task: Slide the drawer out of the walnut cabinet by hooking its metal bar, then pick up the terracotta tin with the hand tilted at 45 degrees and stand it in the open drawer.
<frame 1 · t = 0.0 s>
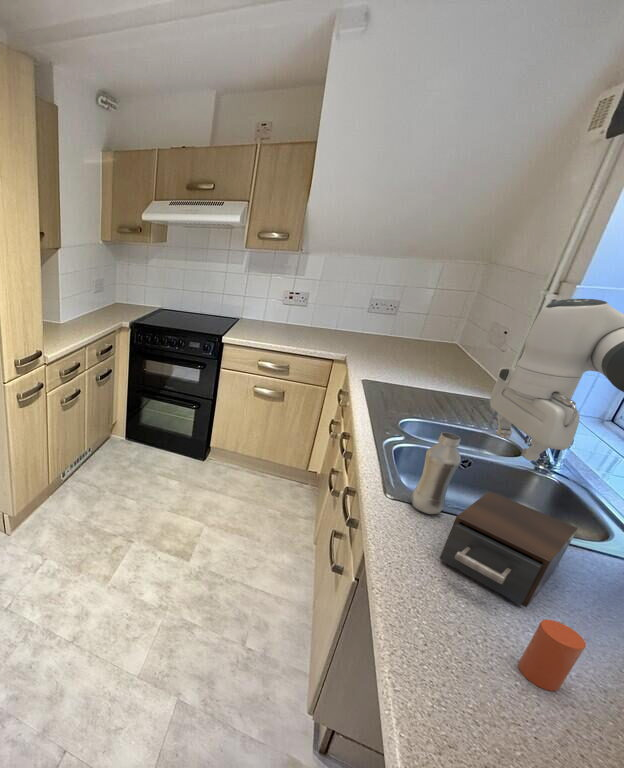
hand: (514, 447, 84), 22 cm above the counter, tool pointing down, fingers open, 8 cm apart
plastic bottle: (424, 509, 100), on the counter
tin: (538, 675, 63), on the counter
cabinet: (496, 564, 84), on the counter
drawer: (497, 552, 79), point 5 cm above the counter, slide at 0.5 cm
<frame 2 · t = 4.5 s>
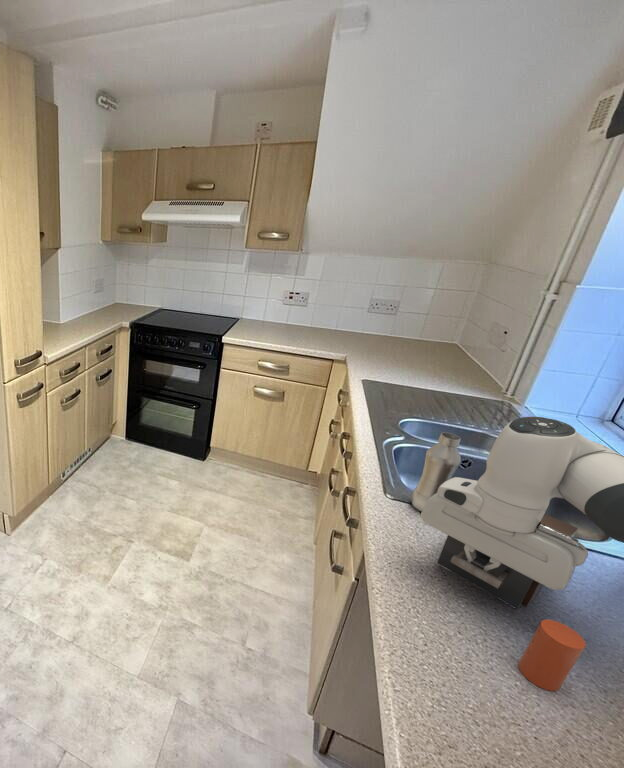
hand: (476, 569, 75), 6 cm above the counter, tool pointing down, fingers closed
drawer: (493, 555, 79), point 5 cm above the counter, slide at 2.2 cm, touching gripper
everything else where it was.
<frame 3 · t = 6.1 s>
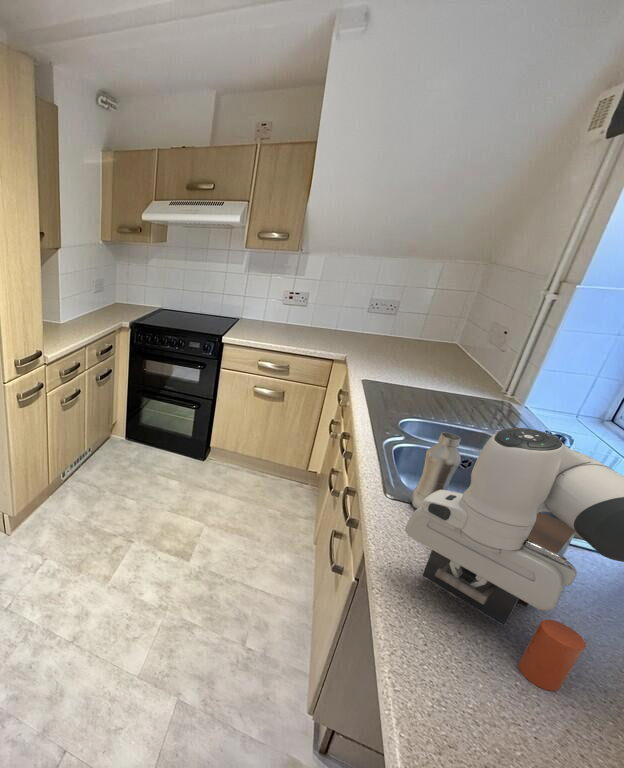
hand: (462, 586, 72), 5 cm above the counter, tool pointing down, fingers closed
drawer: (480, 568, 75), point 5 cm above the counter, slide at 8.5 cm
everything else where it was.
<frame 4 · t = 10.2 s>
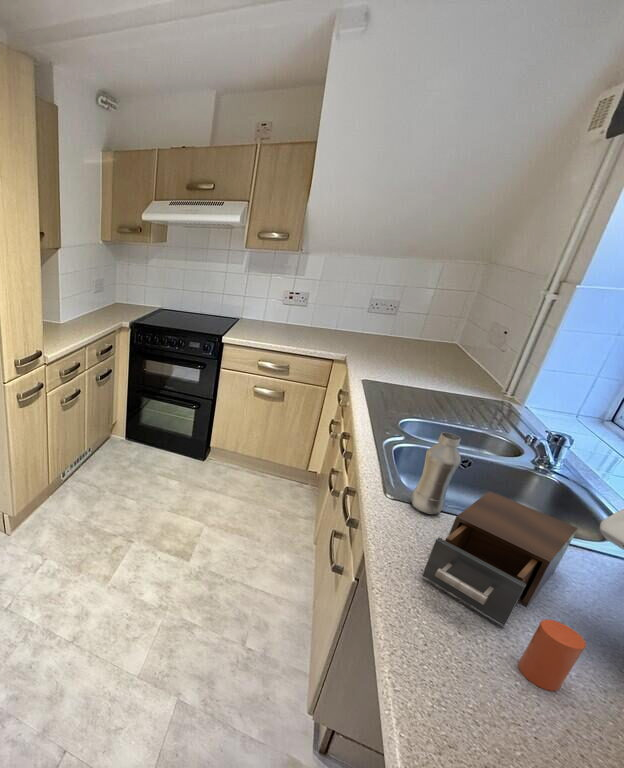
nothing on the counter moved.
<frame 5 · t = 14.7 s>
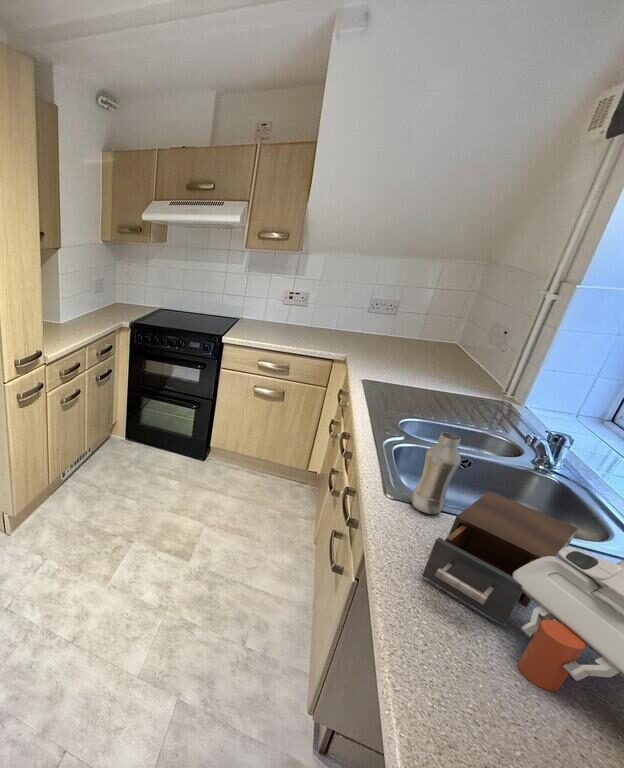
hand: (546, 652, 61), 5 cm above the counter, tool tilted 45°, fingers closed on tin, 4 cm apart
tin: (537, 675, 63), on the counter, touching gripper
everything else where it was.
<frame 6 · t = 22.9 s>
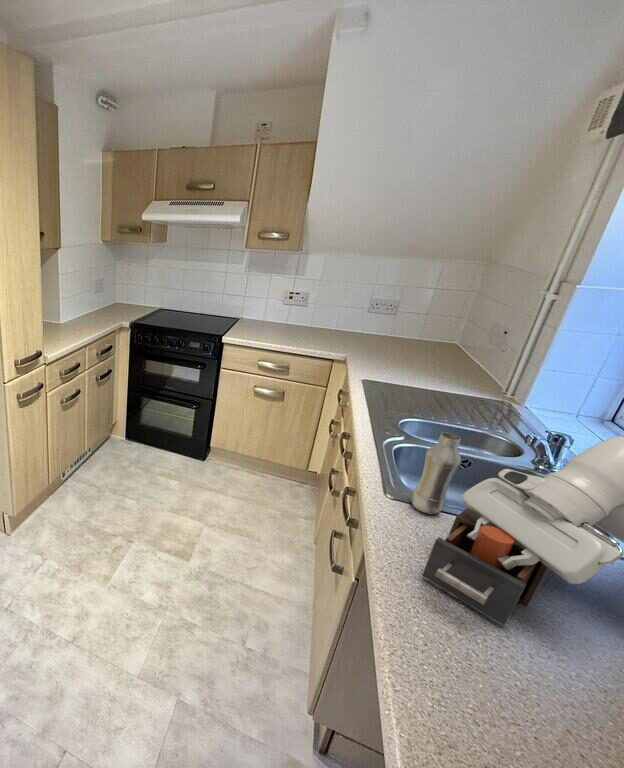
hand: (485, 552, 74), 9 cm above the counter, tool tilted 45°, fingers closed on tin, 4 cm apart
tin: (479, 573, 76), point 4 cm above the counter, touching gripper
everything else where it was.
when the fingers open (11 cm above the counter, at t = 34.4 s): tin drops 4 cm, resting on drawer.
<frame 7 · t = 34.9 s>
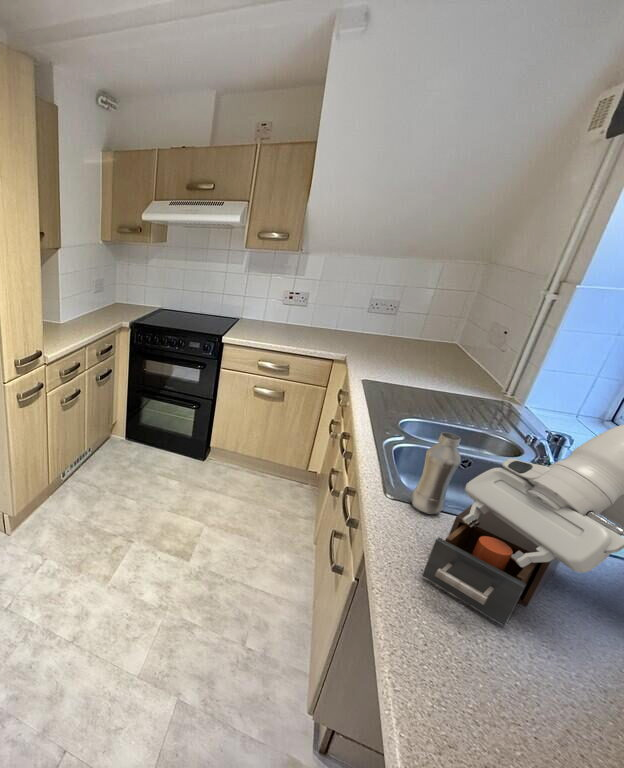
hand: (489, 542, 73), 11 cm above the counter, tool tilted 45°, fingers open, 8 cm apart
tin: (477, 582, 77), point 2 cm above the counter, touching drawer
drawer: (480, 568, 75), point 5 cm above the counter, slide at 8.5 cm, touching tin
everything else where it was.
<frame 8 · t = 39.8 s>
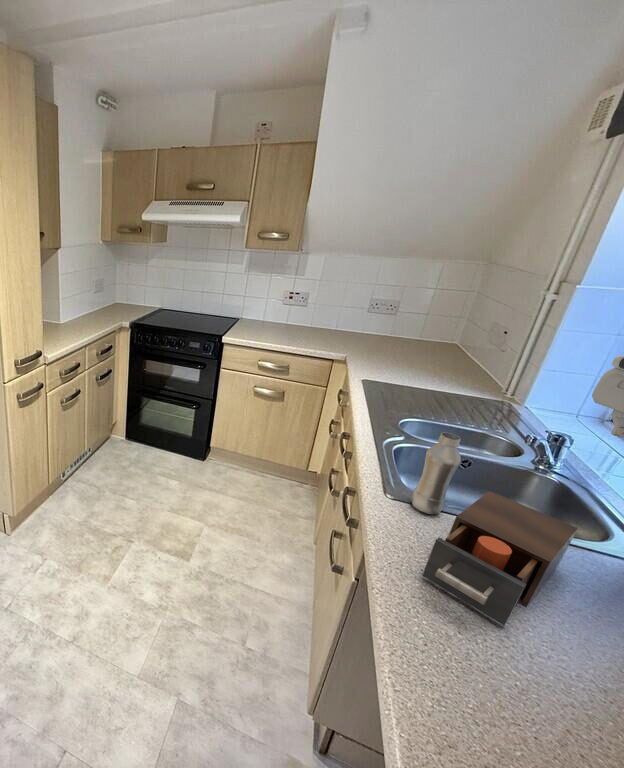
nothing on the counter moved.
at the end: drawer slide at 8.5 cm; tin inside the target area in the drawer (0.4 cm from its centre), point 2.0 cm above the cabinet's base; the gripper is holding nothing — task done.
